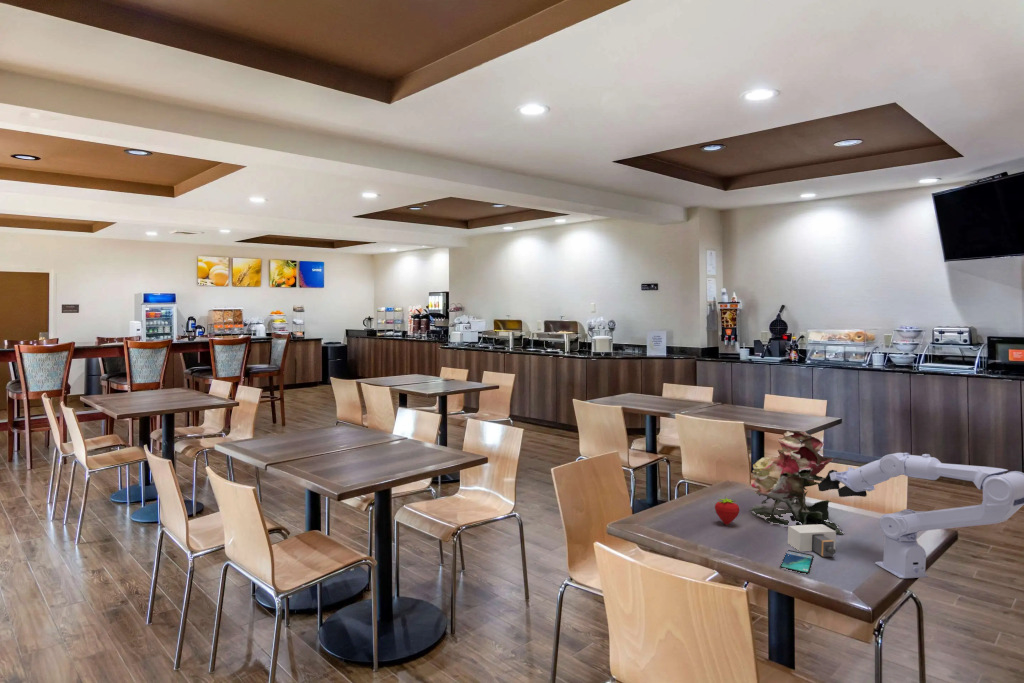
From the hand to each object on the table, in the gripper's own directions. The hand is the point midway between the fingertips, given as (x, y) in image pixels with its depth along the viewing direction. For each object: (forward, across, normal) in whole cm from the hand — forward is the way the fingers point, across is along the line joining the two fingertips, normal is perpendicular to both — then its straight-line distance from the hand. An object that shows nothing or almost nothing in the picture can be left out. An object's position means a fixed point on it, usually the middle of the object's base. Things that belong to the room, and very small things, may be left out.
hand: (829, 490), depth 180 cm
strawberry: (+29, +14, +6) cm, 33 cm away
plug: (+5, +3, +18) cm, 18 cm away
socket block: (+9, +2, +15) cm, 17 cm away
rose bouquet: (+24, -9, 0) cm, 26 cm away
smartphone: (+4, +13, +23) cm, 27 cm away
